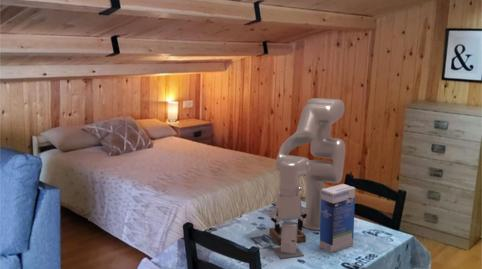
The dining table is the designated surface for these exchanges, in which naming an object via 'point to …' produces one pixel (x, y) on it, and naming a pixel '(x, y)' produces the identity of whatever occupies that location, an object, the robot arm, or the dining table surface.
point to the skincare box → (289, 237)
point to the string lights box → (337, 217)
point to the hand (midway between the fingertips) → (288, 230)
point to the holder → (300, 237)
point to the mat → (287, 255)
